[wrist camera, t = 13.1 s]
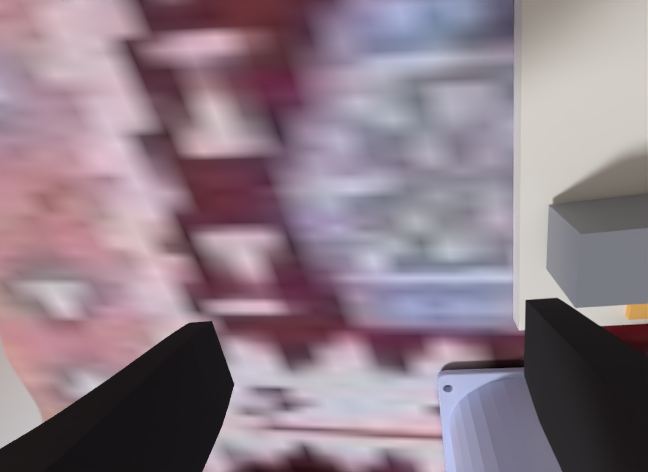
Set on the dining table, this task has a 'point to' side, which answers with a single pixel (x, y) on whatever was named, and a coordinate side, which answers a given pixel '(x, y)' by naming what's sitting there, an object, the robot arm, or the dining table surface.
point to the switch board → (575, 128)
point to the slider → (600, 250)
